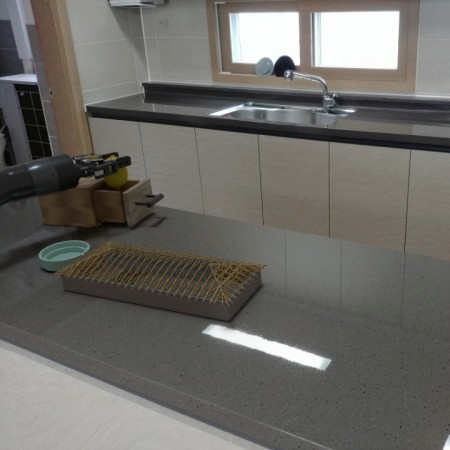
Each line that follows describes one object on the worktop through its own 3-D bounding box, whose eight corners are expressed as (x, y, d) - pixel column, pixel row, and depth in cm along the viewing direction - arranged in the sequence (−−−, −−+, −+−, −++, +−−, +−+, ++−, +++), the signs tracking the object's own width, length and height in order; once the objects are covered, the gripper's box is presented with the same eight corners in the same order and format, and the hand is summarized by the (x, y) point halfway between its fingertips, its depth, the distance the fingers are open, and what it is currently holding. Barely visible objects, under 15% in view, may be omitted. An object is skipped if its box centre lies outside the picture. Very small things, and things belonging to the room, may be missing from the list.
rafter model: (56, 291, 96) (49, 260, 93) (109, 256, 108) (104, 228, 106) (230, 325, 84) (227, 291, 81) (268, 281, 96) (266, 251, 94)
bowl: (30, 270, 104) (27, 259, 103) (61, 249, 112) (59, 238, 111) (73, 274, 101) (70, 262, 100) (101, 253, 110) (99, 242, 109)
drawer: (170, 210, 128) (166, 179, 125) (149, 227, 119) (144, 194, 116) (109, 206, 132) (103, 176, 129) (83, 222, 123) (77, 190, 120)
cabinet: (122, 209, 132) (116, 172, 129) (95, 228, 122) (87, 188, 118) (74, 206, 136) (67, 170, 132) (44, 224, 125) (35, 185, 122)
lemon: (135, 187, 124) (130, 153, 121) (116, 194, 120) (111, 160, 117) (118, 184, 127) (113, 151, 124) (100, 191, 122) (93, 157, 119)
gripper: (60, 164, 105) (138, 146, 116) (31, 152, 114) (106, 137, 126) (68, 200, 108) (143, 179, 119) (39, 185, 117) (111, 168, 129)
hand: (123, 158), depth 122 cm, fingers closed on lemon, 5 cm apart
